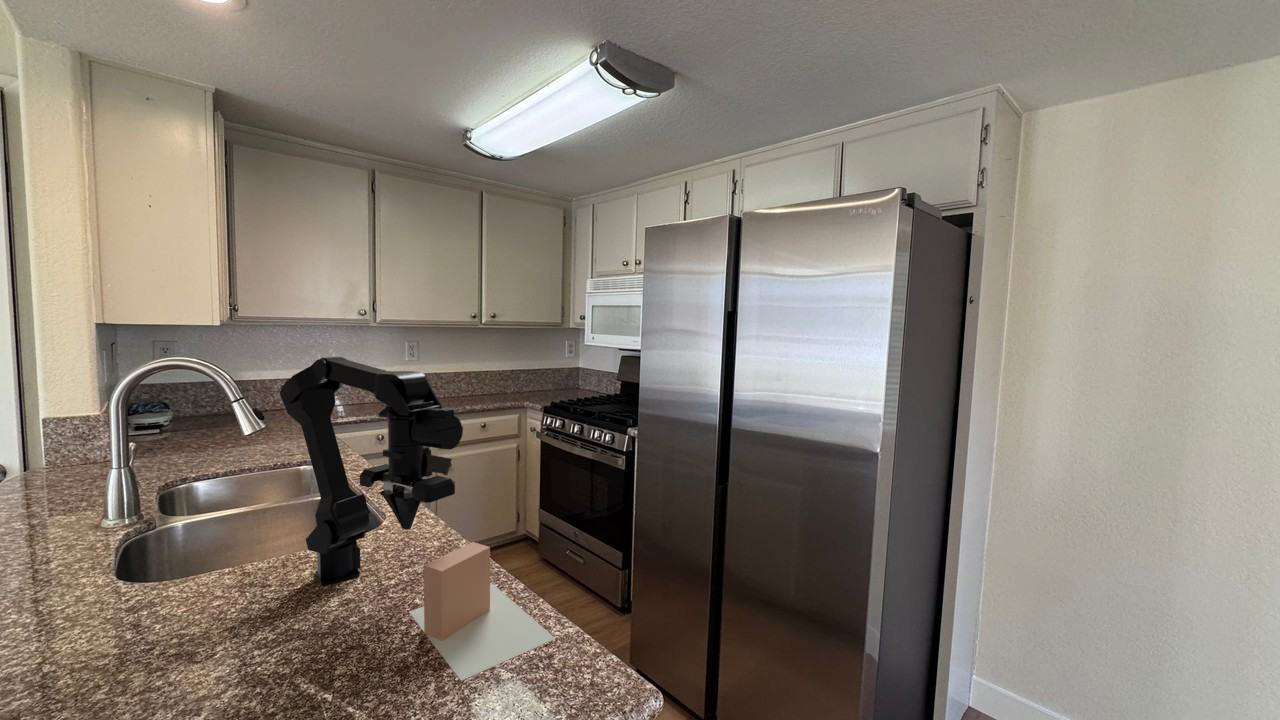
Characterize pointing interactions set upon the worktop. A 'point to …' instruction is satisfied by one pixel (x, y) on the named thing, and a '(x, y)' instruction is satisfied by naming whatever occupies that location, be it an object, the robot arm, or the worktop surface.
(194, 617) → the worktop surface
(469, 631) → the rubber mat
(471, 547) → the terracotta slab
